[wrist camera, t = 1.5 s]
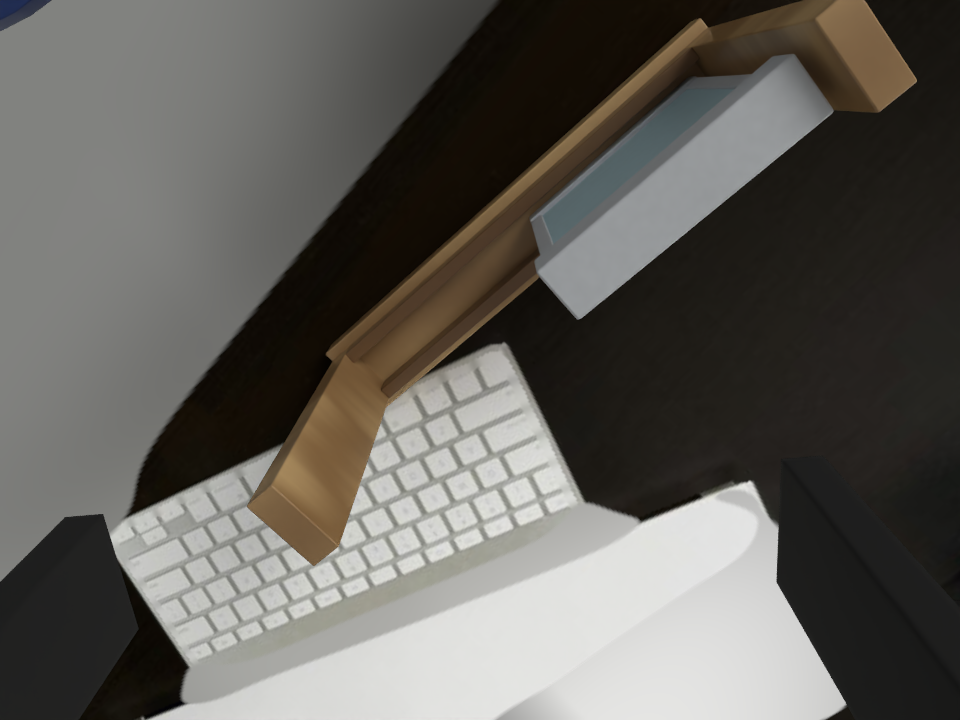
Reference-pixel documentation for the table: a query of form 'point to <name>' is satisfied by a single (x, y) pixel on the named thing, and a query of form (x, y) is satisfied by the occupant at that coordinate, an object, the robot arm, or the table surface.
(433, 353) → the brown wooden l-shape
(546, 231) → the grey rectangular block
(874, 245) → the table surface
